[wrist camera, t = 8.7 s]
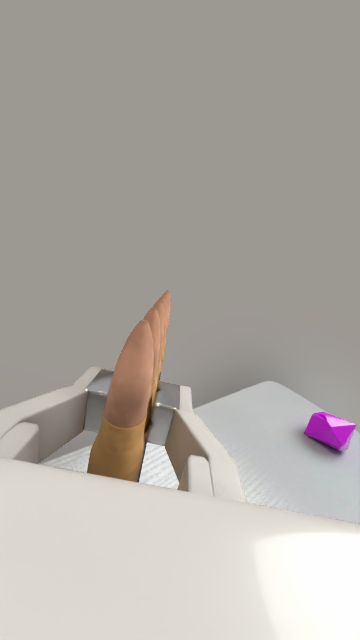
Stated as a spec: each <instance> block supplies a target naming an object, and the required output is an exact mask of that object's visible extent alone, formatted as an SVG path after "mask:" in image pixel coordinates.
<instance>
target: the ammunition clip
mask: <svg viewBox="0 0 360 640" xmlns="http://www.w3.org/2000/svg"><path fill="white" fill-rule="evenodd" d="M170 309H171V298H170V292H169V291H168V290H167V291H166V292H165V293H164V294H163V295H162V297H161V298H160V299H159V300H158V301H157V302H156V303H155V305H154V306H153V307H152V308H151V309H150V310H149V311H148V313H147V314H146V316H145V317H144V319H143V320H141V321H140V322H139V323H138V324H137V325H136V327H135V328H134V329H133V331H132V332H131V334H130V336H129V337H128V339H127V341H126V344H125V345H124V347H123V349H122V351H121V354H120V356H119V359H118V361H117V364H116V367H115V370H114V373H113V376H112V380H111V383H110V387H109V391H108V397H107V402H106V407H105V409H104V411H103V416H102V420H101V425H100V429H99V432H98V435H97V437H96V439H95V441H94V444H93V446H92V449H91V453H90V458H89V464H88V470H87V473H90V474H95V475H100V476H106V477H111V478H117V479H122V480H127V481H133V482H138V483H139V478H140V473H141V468H142V463H143V459H144V454H145V449H146V444H147V442H145V438H146V433H147V429H148V425H149V420H150V417H151V412H152V406H153V402H154V397H155V393H156V389H157V385H158V381H159V380H160V374H161V372H160V371H161V366H162V362H163V356H164V352H165V346H166V335H167V327H168V323H169V318H170Z"/></svg>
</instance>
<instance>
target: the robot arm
mask: <svg viewBox="0 0 360 640" xmlns="http://www.w3.org/2000/svg"><path fill="white" fill-rule="evenodd" d="M113 373H114V371H111V370H107V369H102V368H99V367H94V366H91V367H89V368H88V369H87V370H86V371H85V372H84V373H83V374H82V375H81V376H80V378H78V379H77V381H76V382H75V383H74V384H73V385H72V386H71V387H63V388H60V389H58V390H55V391H52V392H49V393H46V394H43V395H40V396H38V397H35V398H32V399H29V400H26V401H24V402H21V403H18V404H15V405H12V406H9V407H7V408H4V409H1V410H0V640H360V524H359V523H353V522H348V521H343V520H337V519H332V518H327V517H321V516H316V515H310V514H305V513H300V512H294V511H289V510H283V509H278V508H273V507H267V506H262V505H256V504H251V503H247V499H246V496H245V492H244V488H243V485H242V481H241V478H240V474H239V471H238V467H237V464H236V462H235V461H234V459H233V458H232V457H231V456H230V455H229V453H228V452H227V451H226V450H225V448H224V447H223V446H222V445H221V443H220V442H219V441H218V440H217V439H216V437H215V436H214V435H213V434H212V432H211V431H210V430H209V429H208V428H207V426H206V425H205V424H204V423H203V421H202V420H201V419H200V418H199V417H198V415H197V414H196V413H193V411H192V399H191V388H190V387H186V386H181V385H175V384H170V383H165V382H159V381H158V385H157V389H156V393H155V397H154V402H153V406H152V412H151V417H150V420H149V425H148V429H147V433H146V438H145V442H149V443H153V444H157V445H162V446H165V449H166V451H167V454H168V456H169V459H170V461H171V463H172V466H173V468H174V471H175V473H176V476H177V478H178V480H179V486H178V489H177V490H176V489H170V488H165V487H160V486H154V485H149V484H144V483H138V482H133V481H127V480H122V479H117V478H111V477H106V476H100V475H95V474H90V473H84V472H79V471H73V470H68V469H63V468H57V467H52V466H46V465H41V464H38V463H40V462H41V461H42V460H44V459H45V458H46V457H48V456H49V455H51V454H52V453H53V452H55V451H56V450H58V449H59V448H60V447H62V446H63V445H64V444H66V443H67V442H69V441H70V440H71V439H73V438H74V437H76V436H77V435H78V434H80V433H81V432H82V431H83V430H86V431H92V432H99V429H100V425H101V420H102V416H103V411H104V409H105V407H106V402H107V397H108V391H109V387H110V383H111V380H112V376H113Z"/></svg>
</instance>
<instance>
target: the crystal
mask: <svg viewBox="0 0 360 640" xmlns="http://www.w3.org/2000/svg"><path fill="white" fill-rule="evenodd" d="M355 427H356V424H353V423H351V422H348V421H346V420H343V419H341V418H338V417H335V416H333V415H330V414H328V413H325V412H318V413H314V414H313V415H312V416H311V419H310V421H309V423H308V426H307V428H306V430H305V433H304V434H306V435H308V436H310V437H312V438H314V439H316V440H318V441H320V442H322V443H324V444H326V445H328V446H331V447H333V448H335V449H337V450H339V451H342V450H346V449H348V446H349V443H350V440H351V438H352V435H353V432H354V429H355Z"/></svg>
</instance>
